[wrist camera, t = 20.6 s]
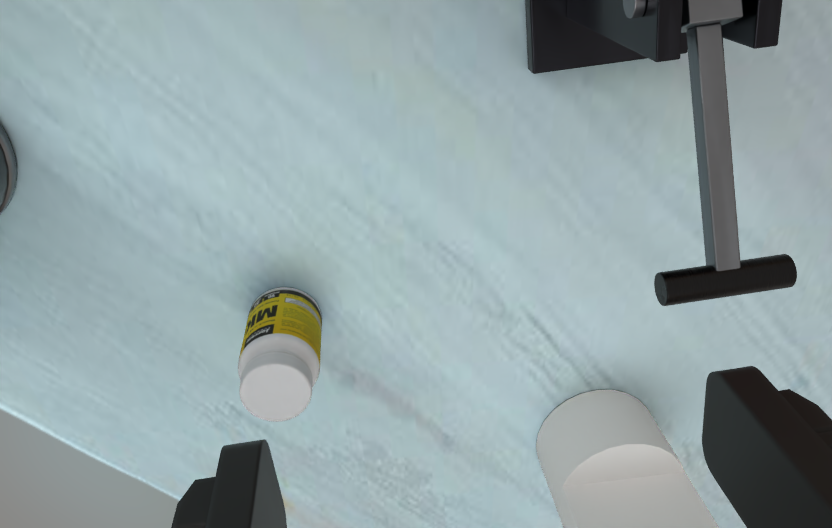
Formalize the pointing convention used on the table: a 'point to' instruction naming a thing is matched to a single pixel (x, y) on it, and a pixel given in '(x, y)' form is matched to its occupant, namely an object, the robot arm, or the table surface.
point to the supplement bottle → (280, 354)
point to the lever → (716, 174)
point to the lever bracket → (628, 31)
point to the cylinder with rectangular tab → (615, 467)
